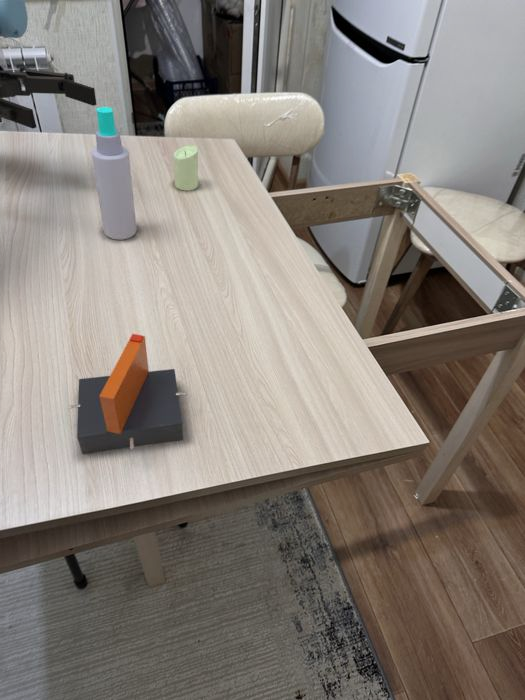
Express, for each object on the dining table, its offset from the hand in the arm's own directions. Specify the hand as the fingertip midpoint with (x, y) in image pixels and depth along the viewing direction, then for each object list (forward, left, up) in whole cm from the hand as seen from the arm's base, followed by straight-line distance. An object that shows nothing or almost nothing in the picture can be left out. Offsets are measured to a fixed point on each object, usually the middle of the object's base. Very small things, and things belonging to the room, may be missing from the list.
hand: (65, 107), depth 80 cm
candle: (+1, +24, -20) cm, 32 cm away
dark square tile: (+45, -22, -20) cm, 54 cm away
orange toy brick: (+45, -22, -17) cm, 53 cm away
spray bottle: (+8, +2, -20) cm, 22 cm away
